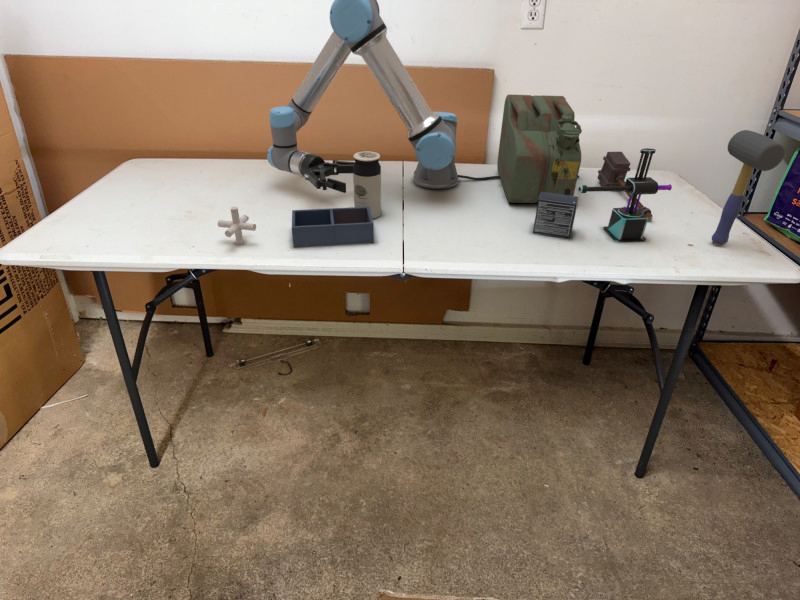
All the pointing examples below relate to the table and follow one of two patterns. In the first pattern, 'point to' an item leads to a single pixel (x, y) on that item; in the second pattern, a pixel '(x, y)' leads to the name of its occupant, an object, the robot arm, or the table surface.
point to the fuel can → (538, 147)
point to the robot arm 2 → (630, 220)
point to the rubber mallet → (746, 173)
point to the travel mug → (367, 181)
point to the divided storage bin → (332, 226)
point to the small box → (555, 214)
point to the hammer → (618, 175)
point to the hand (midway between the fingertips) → (360, 181)
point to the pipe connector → (236, 225)
